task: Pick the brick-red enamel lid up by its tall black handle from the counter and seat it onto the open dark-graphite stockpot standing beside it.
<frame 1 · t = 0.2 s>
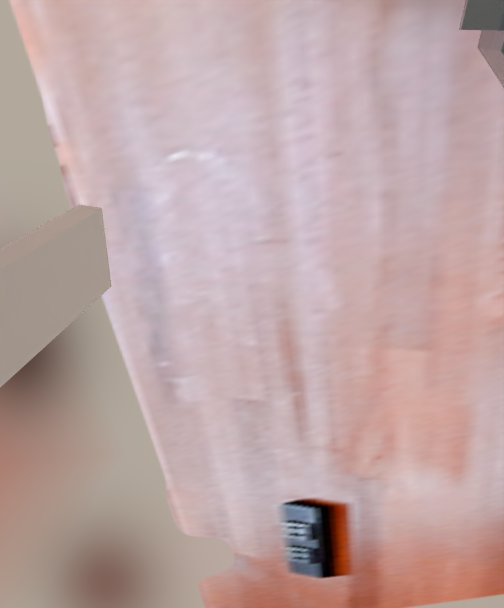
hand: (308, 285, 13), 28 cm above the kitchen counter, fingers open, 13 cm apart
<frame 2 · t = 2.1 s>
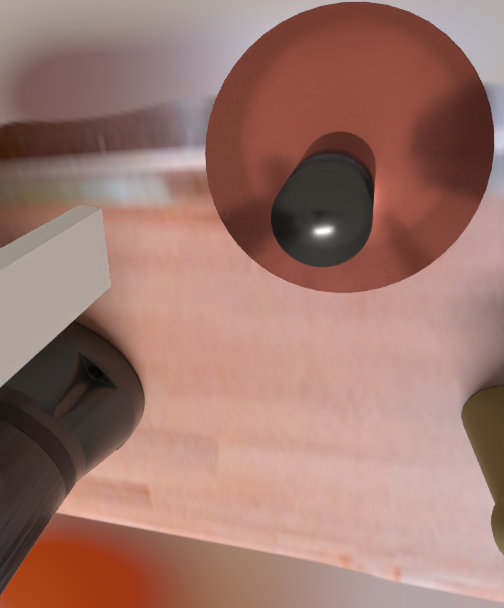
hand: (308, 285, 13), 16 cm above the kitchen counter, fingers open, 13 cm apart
lid: (342, 157, 27), on the kitchen counter
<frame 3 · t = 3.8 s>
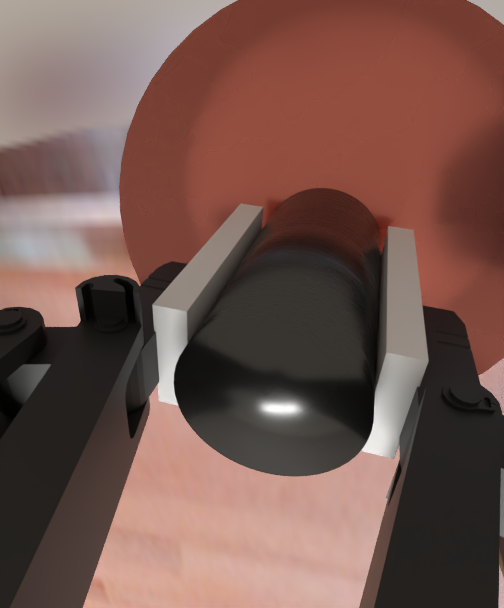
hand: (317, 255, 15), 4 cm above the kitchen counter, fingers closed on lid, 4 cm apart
lid: (330, 215, 18), on the kitchen counter, touching gripper
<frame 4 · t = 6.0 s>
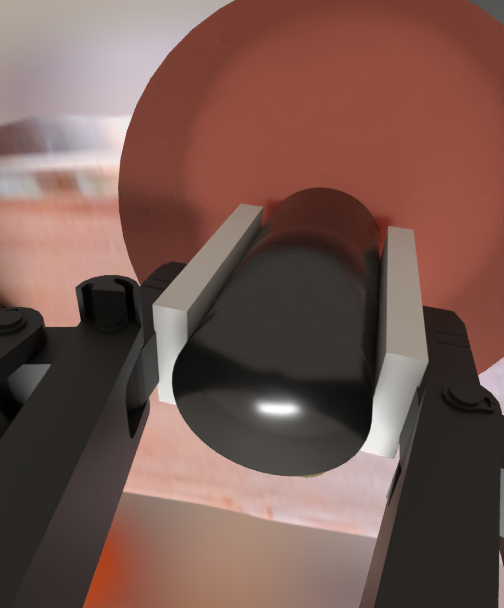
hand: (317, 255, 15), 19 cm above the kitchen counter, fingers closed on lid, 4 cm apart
lid: (329, 215, 18), point 16 cm above the kitchen counter, touching gripper
pot: (407, 135, 30), on the kitchen counter
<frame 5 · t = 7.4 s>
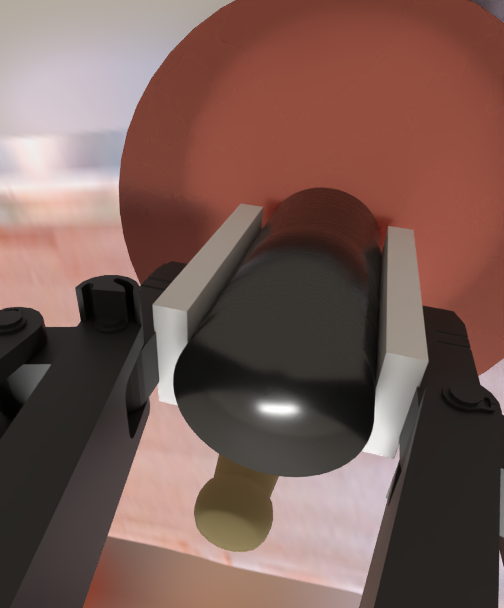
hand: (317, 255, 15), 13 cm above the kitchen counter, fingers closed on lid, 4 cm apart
lid: (330, 215, 18), point 9 cm above the kitchen counter, touching gripper
olive pepper mill: (265, 411, 37), on the kitchen counter
when the fingers open (11 cm above the kitchen counter, at t = 8.4 s): lid stays where it is, resting on pot.
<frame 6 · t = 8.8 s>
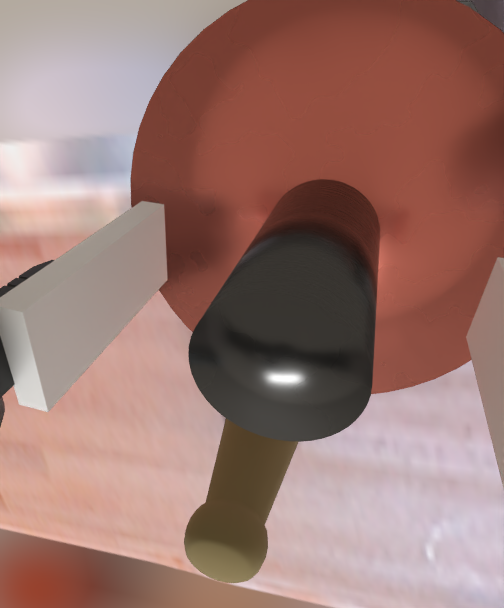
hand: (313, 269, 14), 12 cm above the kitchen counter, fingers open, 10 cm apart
lid: (331, 207, 19), point 6 cm above the kitchen counter, touching pot
olive pepper mill: (262, 429, 36), on the kitchen counter
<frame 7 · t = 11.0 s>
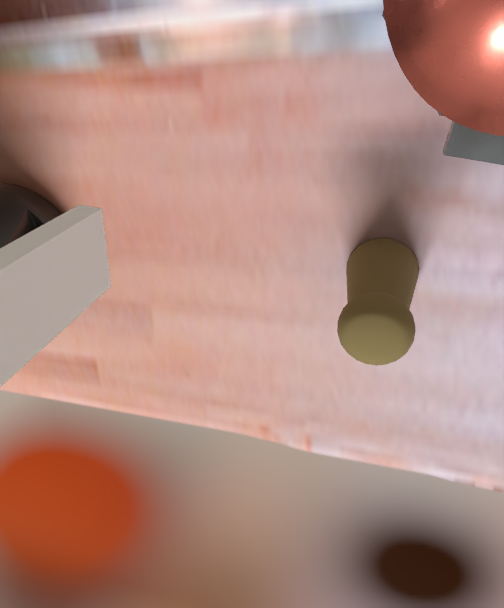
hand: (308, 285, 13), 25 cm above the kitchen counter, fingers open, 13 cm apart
olive pepper mill: (381, 269, 39), on the kitchen counter
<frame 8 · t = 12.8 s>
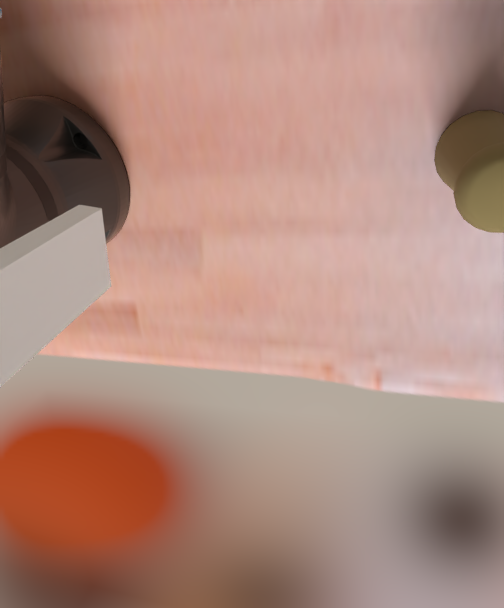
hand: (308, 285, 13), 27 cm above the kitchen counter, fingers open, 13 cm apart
olive pepper mill: (476, 152, 34), on the kitchen counter
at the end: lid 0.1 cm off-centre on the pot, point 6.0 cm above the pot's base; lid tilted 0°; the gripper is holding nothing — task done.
